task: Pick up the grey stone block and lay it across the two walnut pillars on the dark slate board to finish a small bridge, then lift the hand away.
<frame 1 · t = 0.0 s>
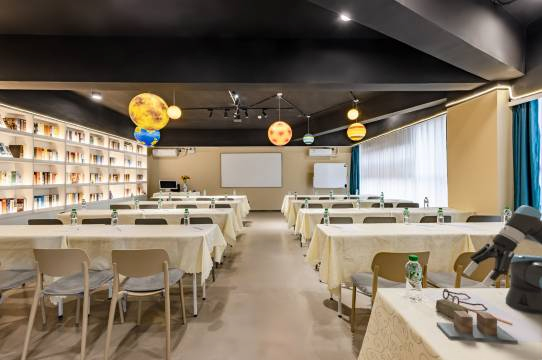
hand: (475, 279, 118), 15 cm above the table, tool tilted 35°, fingers open, 13 cm apart
stone block: (451, 315, 119), on the table
bridge base: (474, 333, 104), on the table
glasses: (464, 304, 132), on the table
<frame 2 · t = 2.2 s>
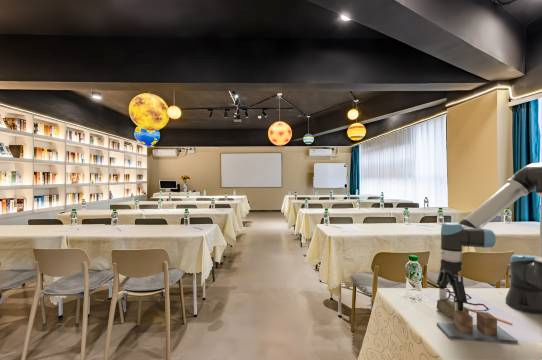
hand: (450, 310, 119), 2 cm above the table, tool pointing down, fingers open, 13 cm apart
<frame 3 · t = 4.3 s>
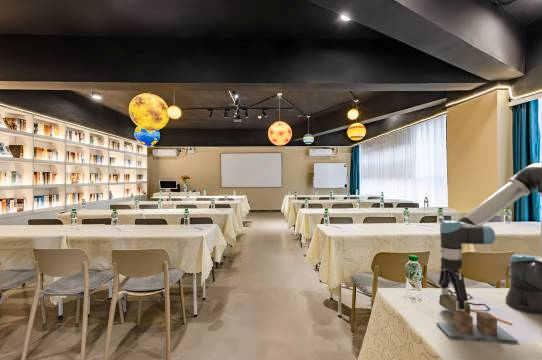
hand: (452, 309, 119), 2 cm above the table, tool pointing down, fingers closed on stone block, 12 cm apart
stone block: (454, 310, 119), point 2 cm above the table, touching gripper
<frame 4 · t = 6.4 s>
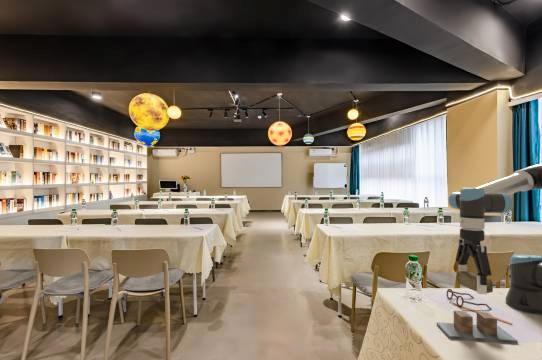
hand: (471, 287, 106), 17 cm above the table, tool pointing down, fingers closed on stone block, 12 cm apart
stone block: (473, 288, 106), point 16 cm above the table, touching gripper
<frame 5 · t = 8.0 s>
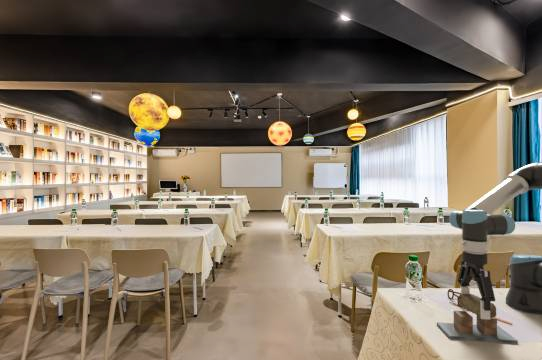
hand: (474, 310, 104), 8 cm above the table, tool pointing down, fingers closed on stone block, 12 cm apart
stone block: (476, 312, 105), point 8 cm above the table, touching gripper
when the fingers open (8 cm above the table, at t = 8.9 s): stone block stays where it is, resting on bridge base.
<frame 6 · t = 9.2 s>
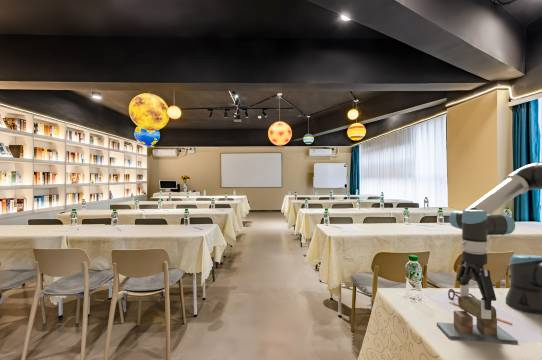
hand: (474, 309, 104), 9 cm above the table, tool pointing down, fingers open, 13 cm apart
stone block: (476, 315, 104), point 7 cm above the table, touching bridge base
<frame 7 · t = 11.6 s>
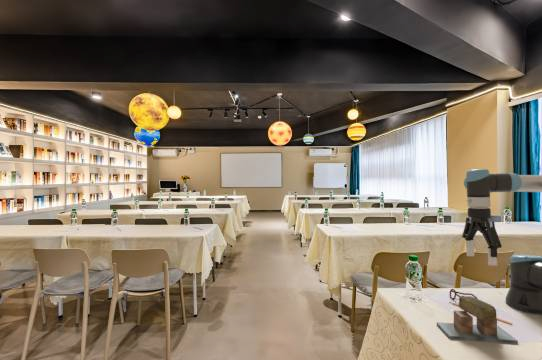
hand: (481, 260, 114), 24 cm above the table, tool pointing down, fingers open, 13 cm apart
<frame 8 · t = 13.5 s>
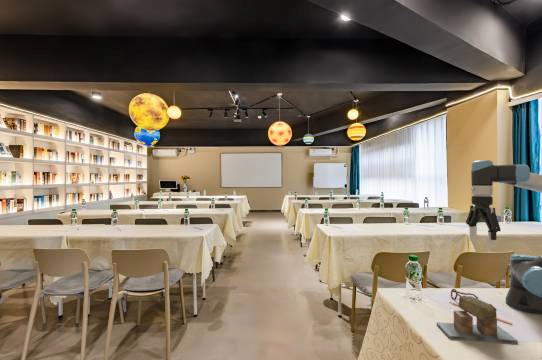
hand: (482, 244, 125), 29 cm above the table, tool pointing down, fingers open, 13 cm apart
at the end: stone block 0.7 cm off-centre on the bridge base, point 6.8 cm above the bridge base's base; stone block tilted 0°; the gripper is holding nothing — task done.
